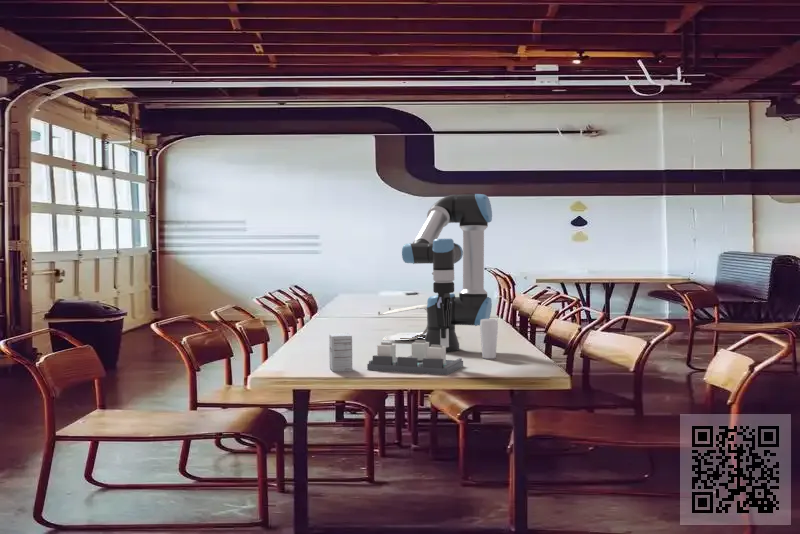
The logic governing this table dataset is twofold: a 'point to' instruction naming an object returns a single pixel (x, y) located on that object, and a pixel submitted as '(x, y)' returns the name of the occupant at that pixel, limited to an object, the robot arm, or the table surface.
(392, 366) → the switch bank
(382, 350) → the white block
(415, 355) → the white block with ridge
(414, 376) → the table surface
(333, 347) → the supplement box
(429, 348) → the switch slider
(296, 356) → the table surface
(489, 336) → the drinking glass
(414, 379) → the table surface
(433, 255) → the robot arm
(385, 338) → the portable electronic device stand
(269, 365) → the table surface
